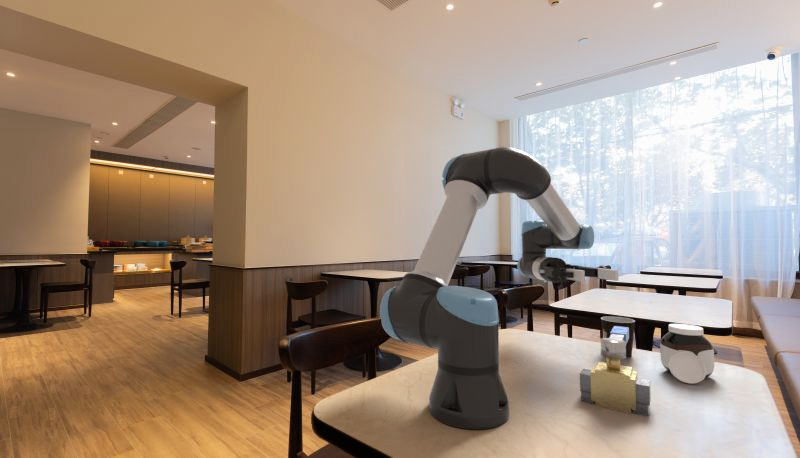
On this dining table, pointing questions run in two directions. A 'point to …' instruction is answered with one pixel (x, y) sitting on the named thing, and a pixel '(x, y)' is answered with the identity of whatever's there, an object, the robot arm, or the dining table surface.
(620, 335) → the lever
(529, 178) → the robot arm
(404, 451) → the dining table surface
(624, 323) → the coffee mug
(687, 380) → the spread jar
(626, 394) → the valve body
